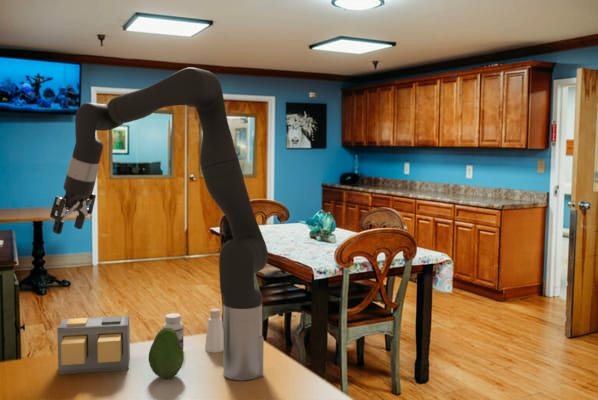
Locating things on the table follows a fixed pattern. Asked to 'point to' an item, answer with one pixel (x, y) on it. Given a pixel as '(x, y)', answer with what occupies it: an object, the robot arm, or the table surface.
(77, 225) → the robot arm
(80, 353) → the button
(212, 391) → the table surface
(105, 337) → the button
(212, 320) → the pepper shaker
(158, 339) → the fruit
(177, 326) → the pill bottle
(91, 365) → the console
